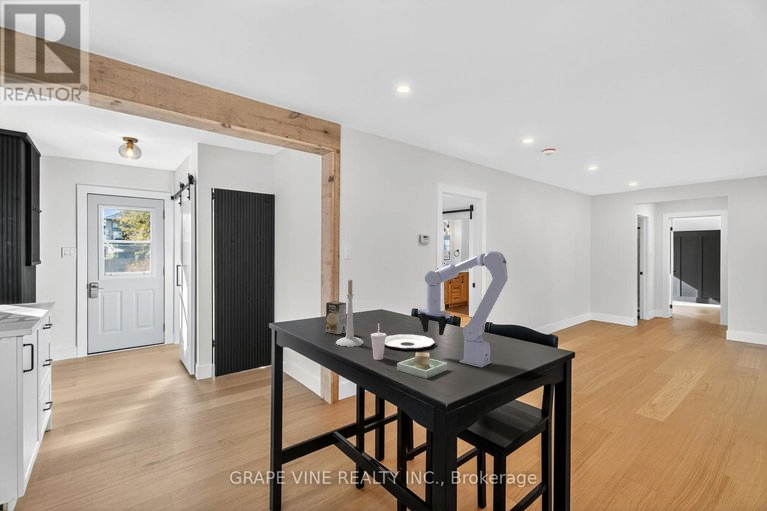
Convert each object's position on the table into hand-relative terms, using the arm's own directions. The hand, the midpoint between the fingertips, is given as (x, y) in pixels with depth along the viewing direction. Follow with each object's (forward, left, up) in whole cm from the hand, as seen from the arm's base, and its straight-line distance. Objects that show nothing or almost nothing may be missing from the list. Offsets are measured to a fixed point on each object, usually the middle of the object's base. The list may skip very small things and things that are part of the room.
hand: (433, 333), depth 145 cm
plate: (+20, -8, -10) cm, 24 cm away
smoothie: (+14, +18, -10) cm, 25 cm away
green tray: (-7, +17, -9) cm, 21 cm away
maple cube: (-7, +17, -9) cm, 20 cm away
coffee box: (+61, +1, -10) cm, 62 cm away
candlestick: (+40, +10, -10) cm, 42 cm away
